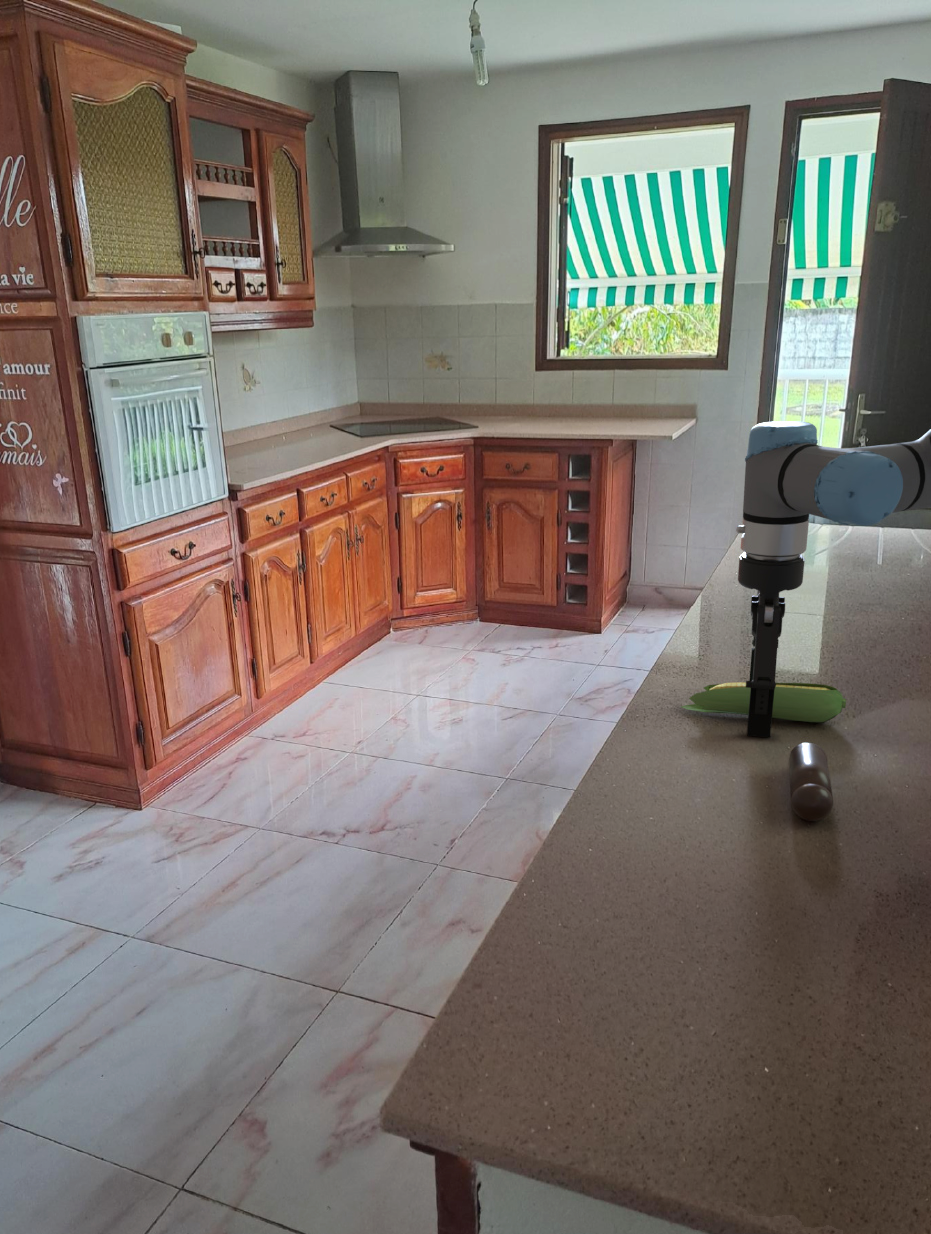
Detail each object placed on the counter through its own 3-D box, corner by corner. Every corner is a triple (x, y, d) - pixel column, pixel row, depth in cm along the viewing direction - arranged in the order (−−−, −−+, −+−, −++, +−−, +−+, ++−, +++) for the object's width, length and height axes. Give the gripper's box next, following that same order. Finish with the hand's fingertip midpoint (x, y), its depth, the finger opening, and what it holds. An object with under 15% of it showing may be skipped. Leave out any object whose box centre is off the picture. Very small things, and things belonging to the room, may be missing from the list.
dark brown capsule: (786, 767, 111) (789, 735, 109) (824, 770, 110) (827, 738, 108) (790, 826, 98) (793, 790, 97) (832, 830, 97) (836, 794, 96)
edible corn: (844, 730, 120) (848, 696, 118) (678, 717, 126) (679, 684, 124) (842, 714, 124) (845, 681, 123) (681, 702, 130) (682, 671, 129)
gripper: (741, 530, 130) (730, 678, 137) (737, 578, 108) (725, 751, 115) (801, 531, 127) (787, 682, 135) (809, 581, 105) (792, 757, 113)
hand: (758, 714), depth 125 cm, fingers open, 13 cm apart
